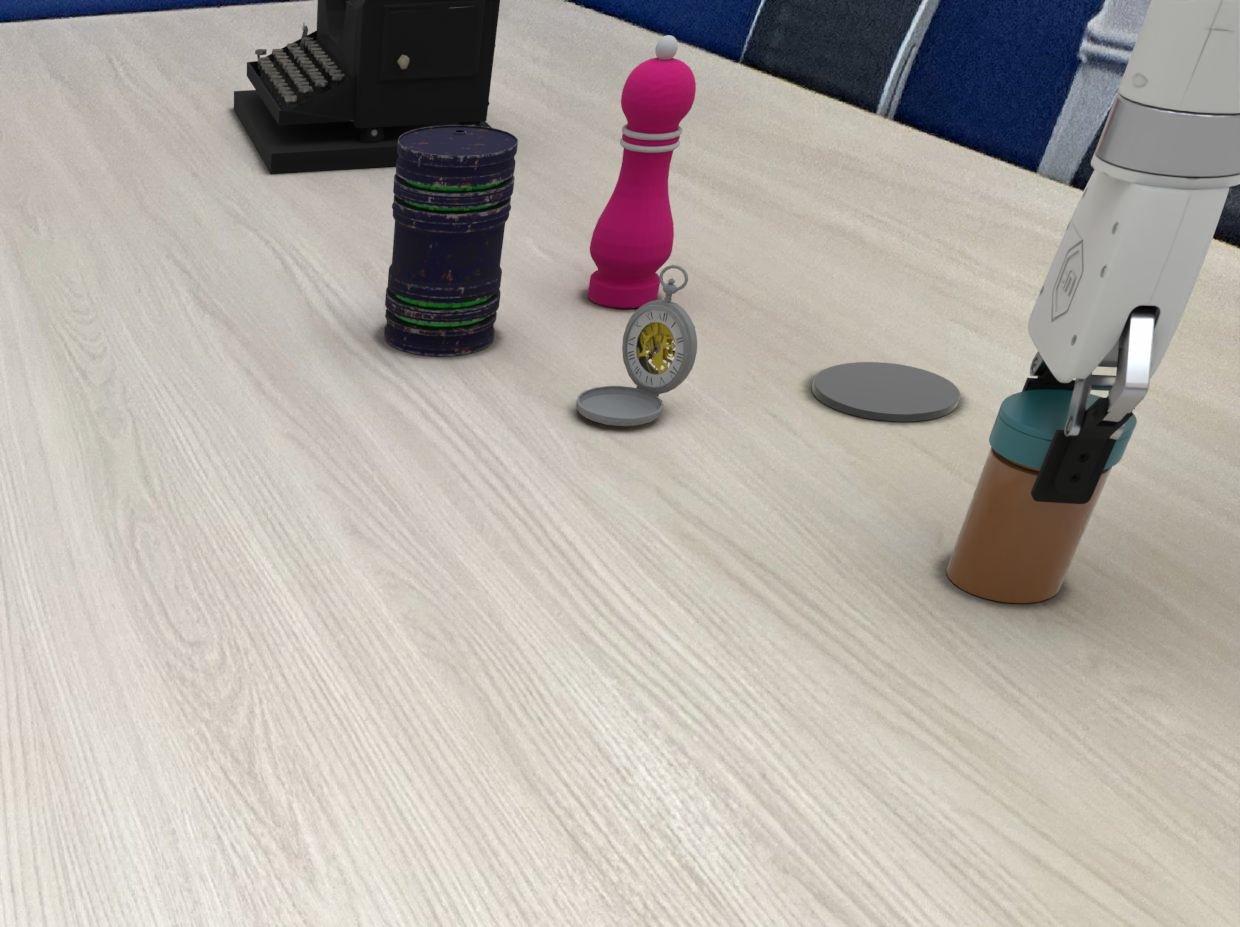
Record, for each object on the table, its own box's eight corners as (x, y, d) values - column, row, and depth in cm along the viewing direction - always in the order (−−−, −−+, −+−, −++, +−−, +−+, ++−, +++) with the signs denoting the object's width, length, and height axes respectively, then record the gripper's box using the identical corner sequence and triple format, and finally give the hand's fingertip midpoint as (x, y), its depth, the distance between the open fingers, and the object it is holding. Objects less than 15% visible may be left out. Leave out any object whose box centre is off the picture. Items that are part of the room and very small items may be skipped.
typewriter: (233, 109, 186) (233, -141, 169) (438, 97, 188) (460, -152, 170) (270, 173, 165) (275, -106, 147) (502, 159, 166) (535, -119, 148)
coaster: (944, 372, 118) (947, 364, 118) (969, 425, 110) (972, 417, 110) (804, 366, 120) (806, 358, 119) (819, 418, 112) (822, 410, 112)
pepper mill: (630, 316, 129) (680, 48, 115) (565, 298, 133) (605, 36, 119) (678, 297, 132) (732, 34, 118) (613, 279, 136) (658, 22, 122)
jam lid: (978, 420, 90) (990, 386, 89) (1104, 425, 89) (1119, 391, 88) (1001, 470, 85) (1014, 434, 84) (1135, 476, 84) (1151, 440, 83)
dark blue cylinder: (492, 359, 123) (517, 158, 112) (377, 354, 124) (390, 155, 113) (497, 319, 129) (521, 125, 119) (388, 314, 131) (402, 123, 120)
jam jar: (1047, 557, 95) (1110, 405, 88) (1071, 606, 90) (1139, 450, 83) (937, 551, 96) (991, 400, 89) (956, 600, 92) (1014, 445, 85)
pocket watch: (568, 425, 112) (591, 286, 105) (585, 386, 118) (608, 251, 111) (676, 437, 110) (707, 296, 103) (688, 397, 116) (718, 260, 109)
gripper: (1066, 98, 82) (954, 414, 95) (1147, 182, 70) (1006, 531, 83) (1209, 101, 81) (1076, 420, 94) (1315, 187, 69) (1147, 540, 82)
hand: (1044, 470), depth 88 cm, fingers closed on jam lid, 7 cm apart
